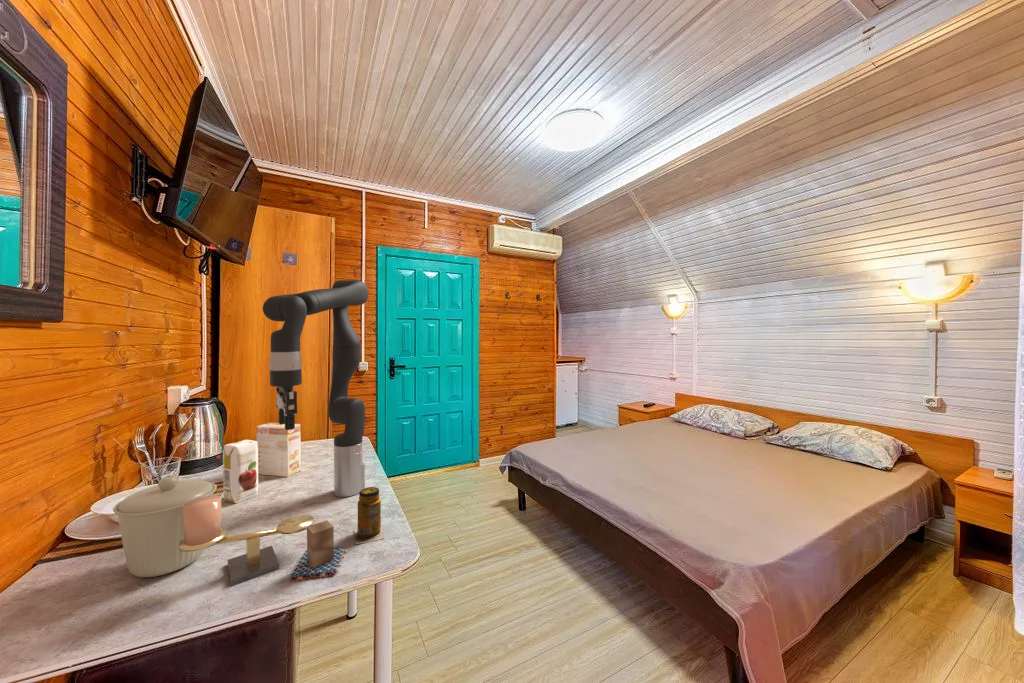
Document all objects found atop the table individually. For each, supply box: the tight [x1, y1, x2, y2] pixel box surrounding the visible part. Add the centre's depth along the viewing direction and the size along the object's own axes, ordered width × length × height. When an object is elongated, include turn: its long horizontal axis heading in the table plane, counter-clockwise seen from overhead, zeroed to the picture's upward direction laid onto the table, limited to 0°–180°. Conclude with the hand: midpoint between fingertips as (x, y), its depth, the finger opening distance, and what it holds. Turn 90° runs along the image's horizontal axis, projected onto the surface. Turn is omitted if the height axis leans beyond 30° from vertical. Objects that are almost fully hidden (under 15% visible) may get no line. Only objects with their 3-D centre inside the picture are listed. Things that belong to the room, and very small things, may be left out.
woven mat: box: [289, 545, 348, 582], centre depth 87 cm, size 10×11×2 cm
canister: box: [112, 475, 217, 578], centre depth 88 cm, size 18×18×21 cm
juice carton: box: [222, 439, 259, 504], centre depth 124 cm, size 8×9×19 cm
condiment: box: [353, 486, 386, 545], centre depth 101 cm, size 7×8×12 cm
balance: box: [179, 514, 315, 587], centre depth 87 cm, size 26×10×10 cm, turn 132°
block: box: [306, 519, 335, 568], centre depth 87 cm, size 4×4×8 cm
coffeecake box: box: [256, 422, 302, 478], centre depth 147 cm, size 15×7×20 cm, turn 77°
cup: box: [183, 495, 223, 546], centre depth 81 cm, size 6×6×8 cm
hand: (286, 426), depth 101 cm, fingers open, 8 cm apart
